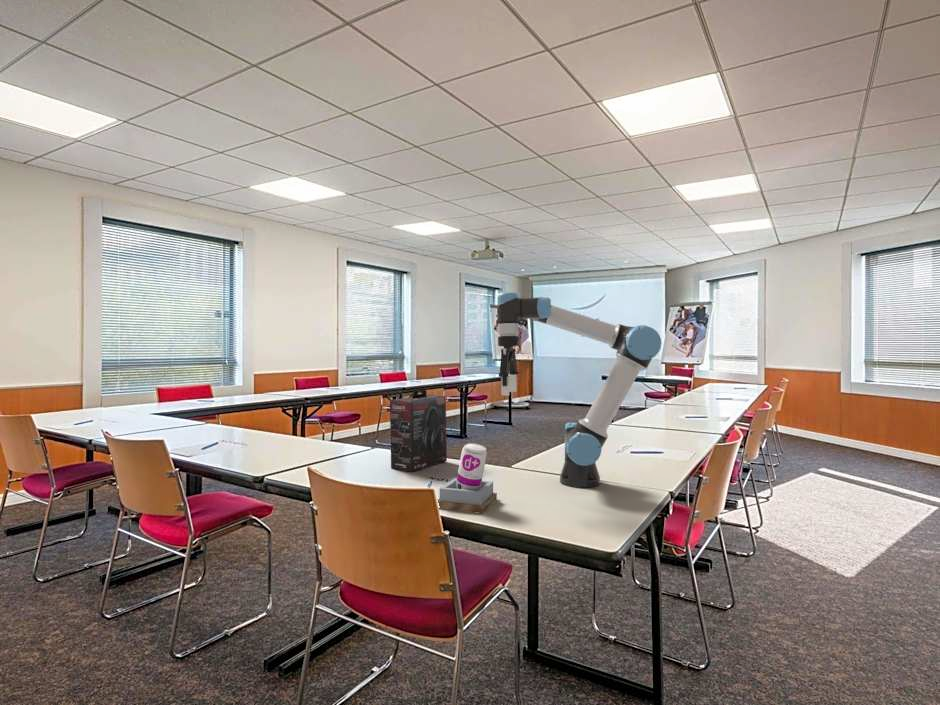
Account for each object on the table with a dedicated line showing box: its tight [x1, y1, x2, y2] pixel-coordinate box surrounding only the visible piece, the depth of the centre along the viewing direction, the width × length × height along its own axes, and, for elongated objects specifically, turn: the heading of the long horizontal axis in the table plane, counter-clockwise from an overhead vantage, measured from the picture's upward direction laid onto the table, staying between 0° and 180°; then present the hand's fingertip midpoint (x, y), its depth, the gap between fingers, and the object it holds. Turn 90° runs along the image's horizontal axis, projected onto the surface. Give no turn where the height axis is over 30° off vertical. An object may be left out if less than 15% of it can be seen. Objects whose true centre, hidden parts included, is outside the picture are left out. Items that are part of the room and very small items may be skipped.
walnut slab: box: [437, 492, 498, 514], centre depth 174 cm, size 16×16×3 cm
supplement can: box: [456, 442, 488, 491], centre depth 173 cm, size 8×8×15 cm
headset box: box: [389, 388, 448, 473], centre depth 229 cm, size 24×13×33 cm, turn 145°
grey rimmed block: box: [439, 477, 494, 505], centre depth 174 cm, size 14×14×4 cm
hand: (509, 393), depth 192 cm, fingers open, 13 cm apart
